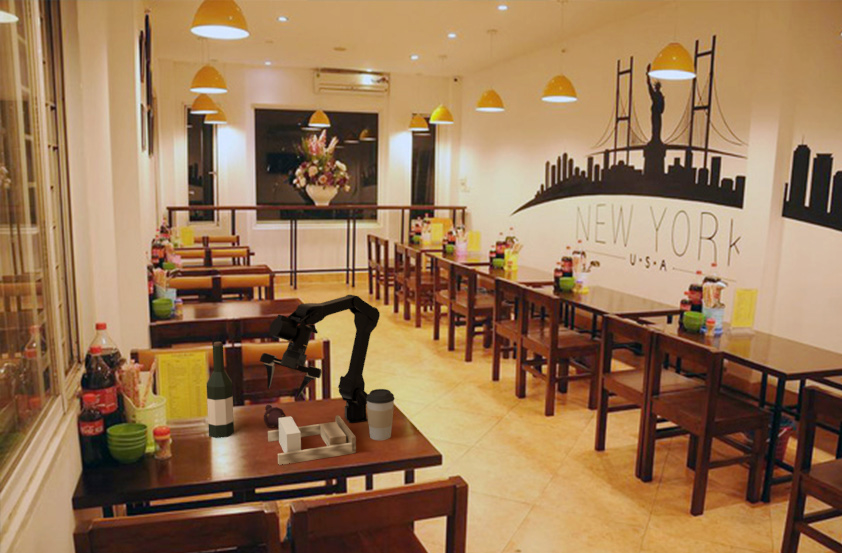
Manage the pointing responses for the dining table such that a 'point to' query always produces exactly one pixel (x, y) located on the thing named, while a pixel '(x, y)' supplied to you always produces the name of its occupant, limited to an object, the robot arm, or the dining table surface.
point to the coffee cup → (380, 413)
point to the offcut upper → (333, 433)
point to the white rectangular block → (289, 435)
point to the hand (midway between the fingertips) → (282, 392)
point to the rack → (320, 451)
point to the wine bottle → (219, 397)
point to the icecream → (273, 416)
